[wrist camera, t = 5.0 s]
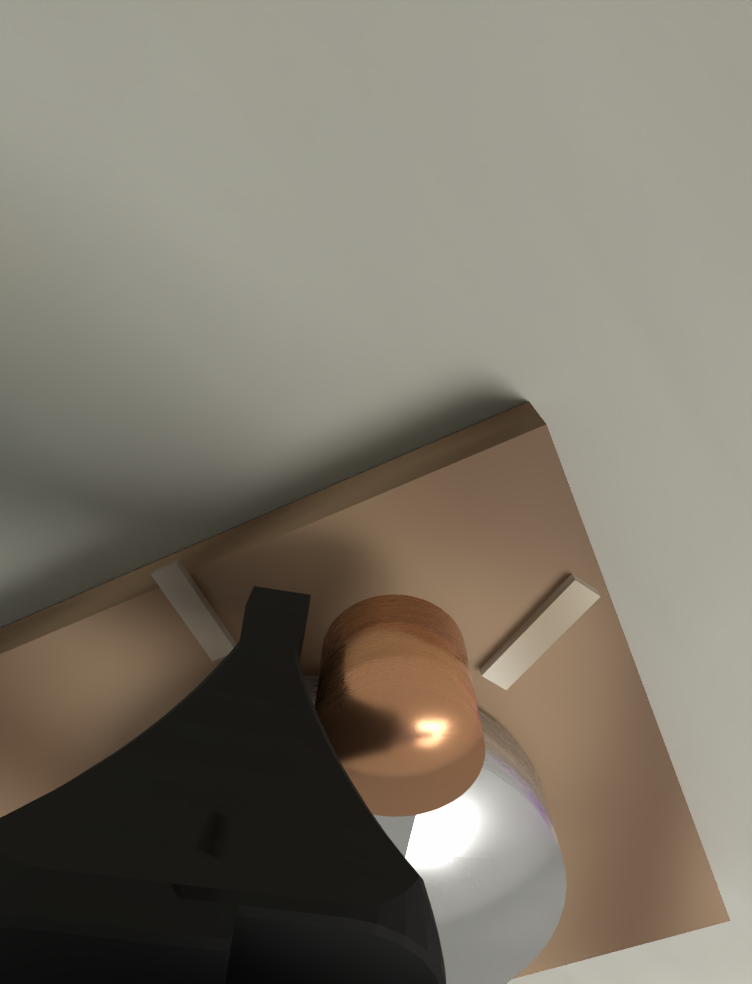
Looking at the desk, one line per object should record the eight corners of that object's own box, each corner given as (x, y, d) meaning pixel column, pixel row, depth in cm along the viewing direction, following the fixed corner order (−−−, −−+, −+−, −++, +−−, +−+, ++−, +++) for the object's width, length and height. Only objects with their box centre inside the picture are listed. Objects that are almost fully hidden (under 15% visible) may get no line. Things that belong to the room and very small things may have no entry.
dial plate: (240, 1001, 22) (230, 1063, 21) (-92, 650, 16) (-143, 700, 14) (705, 869, 19) (734, 929, 18) (522, 383, 13) (542, 409, 12)
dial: (495, 967, 19) (526, 1161, 15) (143, 935, 18) (83, 1129, 14) (644, 576, 13) (752, 728, 9) (146, 510, 12) (47, 644, 9)
